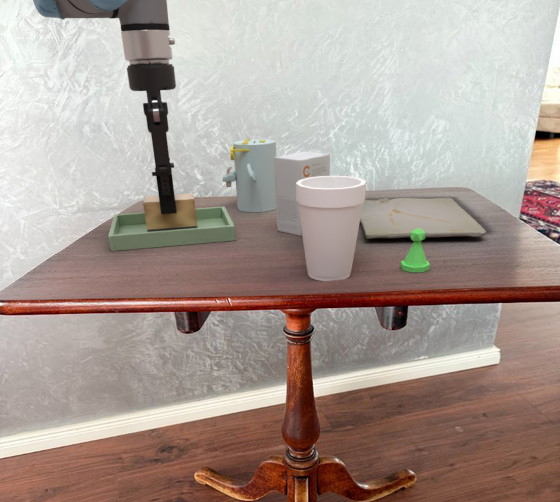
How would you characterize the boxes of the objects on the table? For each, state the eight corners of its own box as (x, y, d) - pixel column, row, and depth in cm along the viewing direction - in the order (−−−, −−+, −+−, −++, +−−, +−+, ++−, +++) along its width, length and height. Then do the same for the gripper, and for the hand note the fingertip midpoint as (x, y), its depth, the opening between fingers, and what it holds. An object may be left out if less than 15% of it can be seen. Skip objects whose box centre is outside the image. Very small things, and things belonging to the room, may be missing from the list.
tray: (110, 251, 93) (107, 236, 92) (116, 228, 106) (113, 214, 105) (235, 240, 96) (234, 226, 95) (225, 219, 110) (224, 206, 108)
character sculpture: (229, 198, 126) (224, 135, 120) (278, 196, 126) (276, 134, 119) (220, 220, 109) (214, 148, 102) (277, 218, 109) (274, 146, 102)
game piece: (410, 274, 79) (414, 233, 76) (394, 265, 82) (397, 226, 79) (435, 269, 80) (440, 229, 77) (418, 261, 84) (422, 222, 81)
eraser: (148, 236, 98) (143, 202, 95) (148, 229, 102) (143, 196, 99) (198, 232, 99) (194, 198, 96) (196, 225, 104) (192, 193, 101)
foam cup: (297, 285, 76) (296, 190, 70) (296, 264, 84) (295, 176, 78) (365, 284, 76) (370, 188, 69) (357, 262, 84) (361, 174, 77)
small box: (304, 221, 106) (304, 150, 99) (329, 227, 102) (331, 153, 96) (275, 230, 101) (273, 156, 94) (301, 236, 97) (300, 159, 91)
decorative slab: (349, 207, 115) (349, 197, 114) (449, 204, 115) (450, 195, 114) (366, 245, 92) (366, 233, 91) (492, 242, 91) (494, 230, 90)
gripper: (175, 61, 80) (192, 220, 92) (172, 62, 96) (186, 197, 107) (123, 63, 79) (146, 223, 91) (128, 63, 94) (148, 200, 106)
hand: (168, 209), depth 99 cm, fingers closed on eraser, 5 cm apart
